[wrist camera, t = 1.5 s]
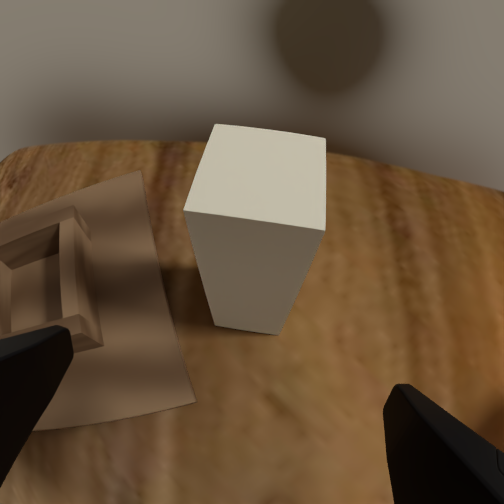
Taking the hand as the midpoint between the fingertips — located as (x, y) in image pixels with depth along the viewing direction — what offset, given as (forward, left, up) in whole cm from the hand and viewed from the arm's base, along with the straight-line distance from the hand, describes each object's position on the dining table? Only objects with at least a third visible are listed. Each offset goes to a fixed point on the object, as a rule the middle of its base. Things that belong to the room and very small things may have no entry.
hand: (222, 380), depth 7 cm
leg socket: (-6, +15, -13) cm, 21 cm away
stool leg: (+6, +4, -13) cm, 15 cm away
